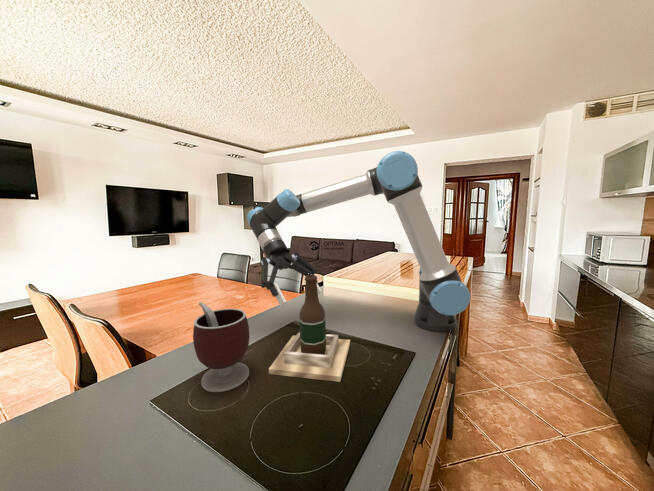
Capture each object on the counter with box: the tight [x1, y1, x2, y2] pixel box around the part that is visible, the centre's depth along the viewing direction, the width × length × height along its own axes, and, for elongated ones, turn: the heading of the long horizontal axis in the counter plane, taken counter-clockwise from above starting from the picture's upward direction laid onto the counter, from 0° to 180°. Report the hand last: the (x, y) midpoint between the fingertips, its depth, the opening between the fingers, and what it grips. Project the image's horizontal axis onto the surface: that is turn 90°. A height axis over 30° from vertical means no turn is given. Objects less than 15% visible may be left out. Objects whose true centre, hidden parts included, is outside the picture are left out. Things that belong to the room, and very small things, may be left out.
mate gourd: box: [192, 301, 250, 393], centre depth 72 cm, size 16×14×20 cm
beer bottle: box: [299, 274, 327, 355], centre depth 80 cm, size 8×8×24 cm
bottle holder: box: [268, 331, 351, 383], centre depth 81 cm, size 20×20×4 cm
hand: (302, 298), depth 82 cm, fingers open, 13 cm apart
